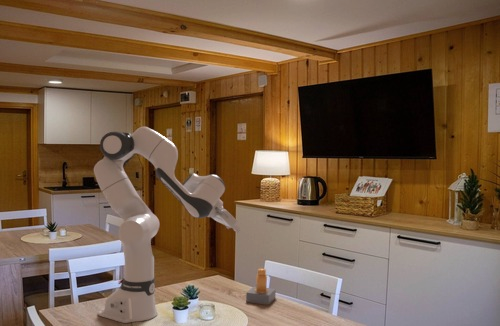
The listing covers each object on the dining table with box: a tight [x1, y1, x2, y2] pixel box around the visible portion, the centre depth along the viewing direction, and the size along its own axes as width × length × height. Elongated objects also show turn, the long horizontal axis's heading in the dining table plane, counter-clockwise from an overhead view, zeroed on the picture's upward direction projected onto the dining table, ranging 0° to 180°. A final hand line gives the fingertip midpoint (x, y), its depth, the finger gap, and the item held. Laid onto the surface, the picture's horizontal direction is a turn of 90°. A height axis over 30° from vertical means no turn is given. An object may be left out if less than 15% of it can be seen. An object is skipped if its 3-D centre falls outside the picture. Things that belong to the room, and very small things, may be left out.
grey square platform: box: [245, 285, 277, 306], centre depth 193 cm, size 10×10×4 cm
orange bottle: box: [256, 268, 268, 292], centre depth 193 cm, size 4×4×9 cm
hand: (234, 229), depth 187 cm, fingers open, 8 cm apart
